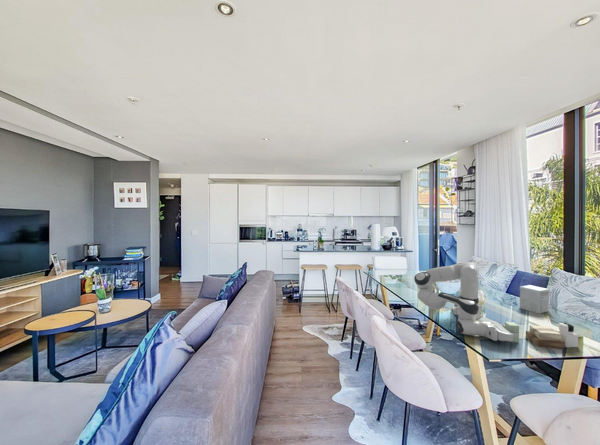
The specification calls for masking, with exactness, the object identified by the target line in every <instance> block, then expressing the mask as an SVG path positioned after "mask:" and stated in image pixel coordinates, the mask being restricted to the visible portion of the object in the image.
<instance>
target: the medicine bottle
mask: <svg viewBox="0 0 600 445" xmlns="http://www.w3.org/2000/svg"><path fill="white" fill-rule="evenodd" d="M554 330H555V331H557V332H558V333H560V334H561V341H563V342H564V348H578V346H579V334H577V333H575V332H574V331H575V327H574V325H572V324H571V323H567V322H559V324H558V329H554Z"/></svg>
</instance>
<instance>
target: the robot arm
mask: <svg viewBox="0 0 600 445" xmlns="http://www.w3.org/2000/svg"><path fill="white" fill-rule="evenodd" d="M479 272H480V271H479V267H478V265H477V264H476V263H474V262H472V261H467V262H462V263H457V264H456V263H455V264H452V265H445V266H439V267H434V268H430V269H427V270H426V271H422V272H418V273H417V274H415V276H414V277H413V279H414V282H415V284H416V287H417V288H418V291H417V294H416V295H417V299H418V300H419V301H420V302H422V303H423V304H424V305H426V306H427V307H429V308H430V309H432V310H436V311H437V310H438V311H439V310H441V309H442V308H444V307H445V306H446V305H447V303H450V304H453V306H452V307H451V308H452V312H453V315H456V316H458V319H457V321H456V323H455V324H456V329H457V331H458V332H459V333H460V334H463V335H467V336H474V337H475V336H480V337H486V338H487V339H490V340H492V341H495V342H496V341H502V342H509V341H512V340H513V337H518V336H519V337H520V333H519V334H518V333H510V332H509V331H508V330H506V329H505V324H501V323H499V322H498V321H496V320H479V321H478V319H481V318H483V317H484V315H483V314H482V311H481V310H482V308H481V307H482V306H481V305H480V304H479V302H480V299H479V276H480V275H479V274H480V273H479ZM456 280H460V292H459V296H456V295H453V294H449V293H446V292H439V293H436V292H435V287H434V284H435V283H438V282H439V283H440V282H441V283H442V282H449V281H451V282H452V281H456Z"/></svg>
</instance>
